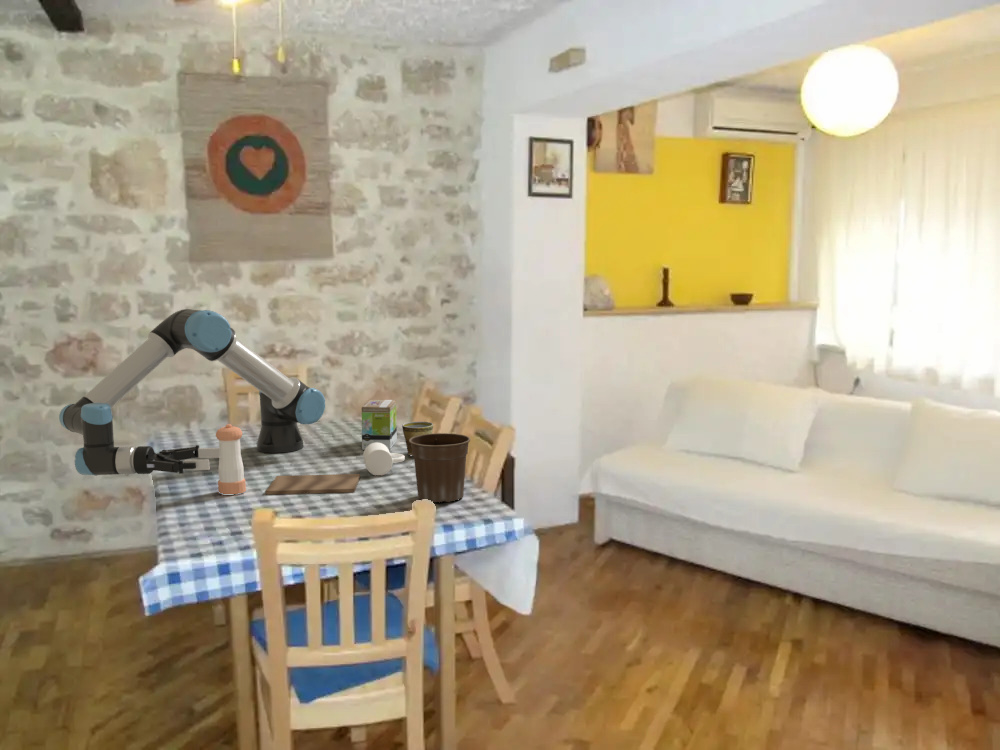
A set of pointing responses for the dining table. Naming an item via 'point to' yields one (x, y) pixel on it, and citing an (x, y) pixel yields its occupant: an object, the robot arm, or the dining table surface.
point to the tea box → (379, 423)
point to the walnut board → (314, 484)
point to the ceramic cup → (415, 431)
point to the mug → (380, 458)
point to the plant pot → (440, 465)
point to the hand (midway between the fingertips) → (216, 458)
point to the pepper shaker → (230, 461)
